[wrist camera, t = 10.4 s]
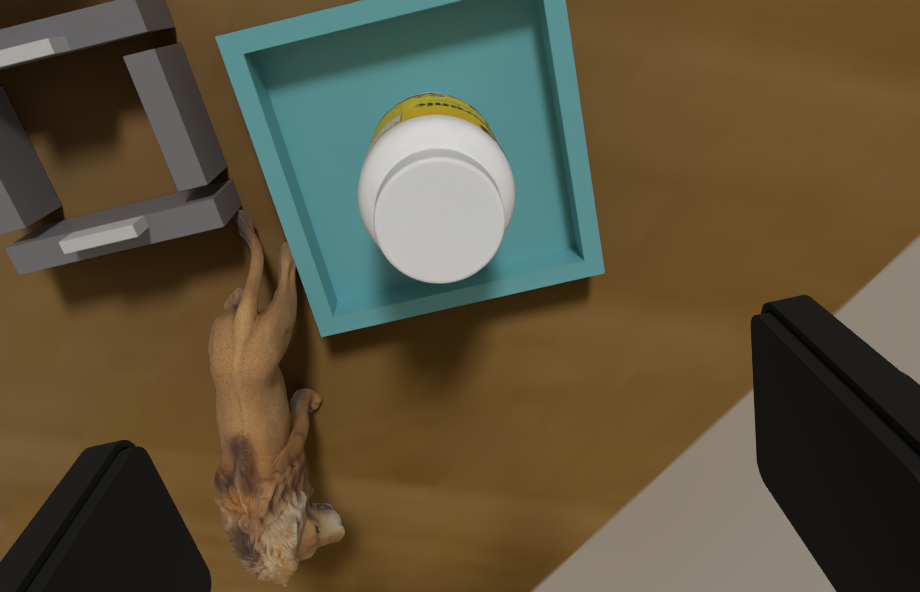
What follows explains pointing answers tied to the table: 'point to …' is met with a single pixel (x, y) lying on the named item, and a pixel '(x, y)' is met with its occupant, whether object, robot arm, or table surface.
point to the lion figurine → (264, 428)
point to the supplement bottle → (436, 188)
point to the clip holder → (171, 116)
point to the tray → (366, 102)
